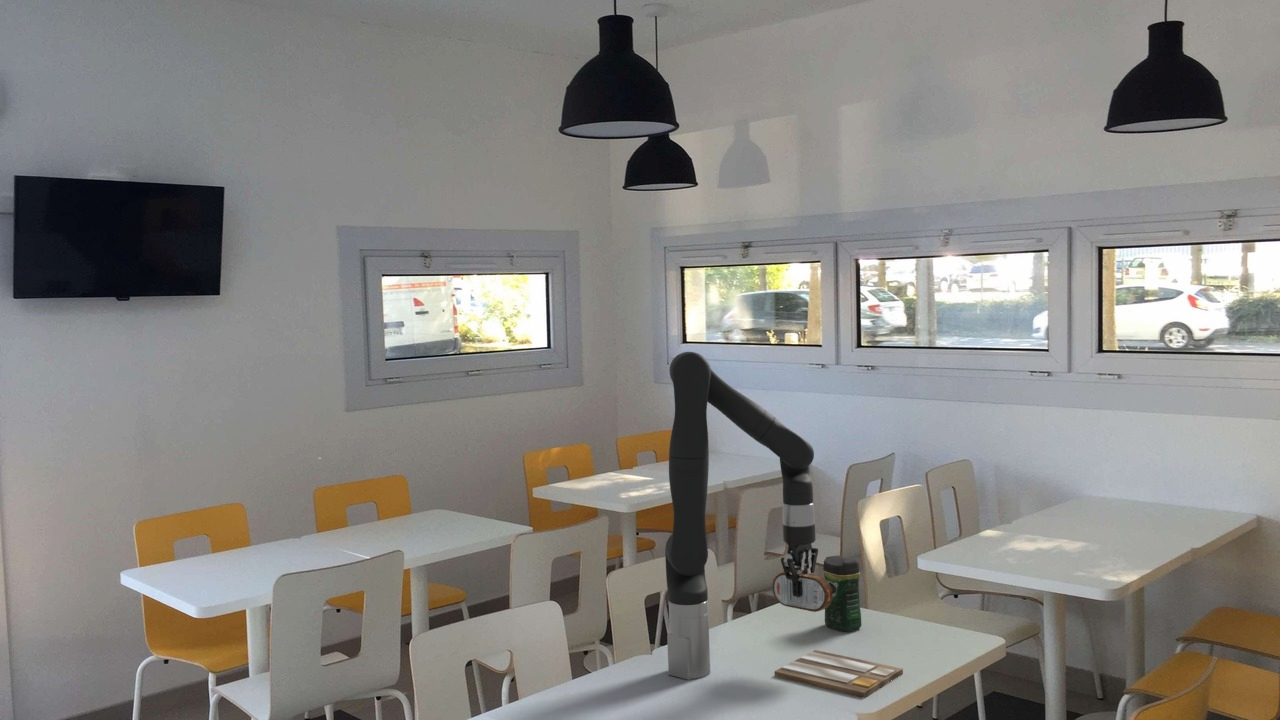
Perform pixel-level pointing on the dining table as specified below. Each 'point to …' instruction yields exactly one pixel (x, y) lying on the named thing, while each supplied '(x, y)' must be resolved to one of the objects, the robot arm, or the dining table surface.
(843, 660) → the board
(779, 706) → the dining table surface
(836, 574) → the coffee jar
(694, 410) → the robot arm
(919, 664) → the dining table surface
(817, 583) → the tin
